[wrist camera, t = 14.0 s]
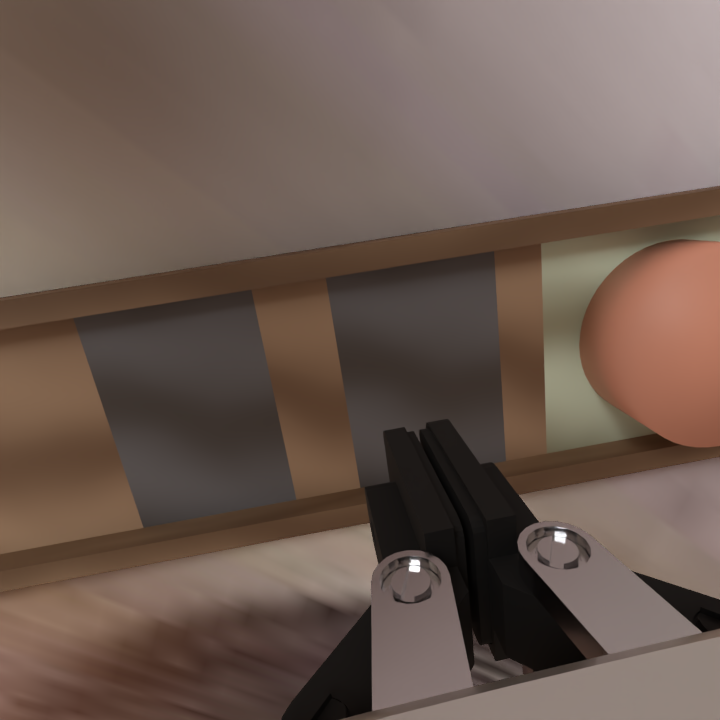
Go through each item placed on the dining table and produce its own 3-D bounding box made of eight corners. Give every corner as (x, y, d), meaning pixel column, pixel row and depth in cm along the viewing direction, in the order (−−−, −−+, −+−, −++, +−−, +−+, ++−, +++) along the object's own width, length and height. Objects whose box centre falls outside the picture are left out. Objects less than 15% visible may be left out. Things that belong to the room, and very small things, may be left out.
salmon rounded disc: (568, 268, 20) (620, 280, 17) (747, 216, 20) (833, 217, 17) (589, 433, 23) (638, 471, 19) (749, 385, 23) (824, 414, 19)
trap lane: (-261, 338, 18) (-311, 349, 16) (833, 168, 20) (873, 164, 19) (-118, 593, 22) (-148, 620, 20) (795, 423, 24) (826, 436, 23)
